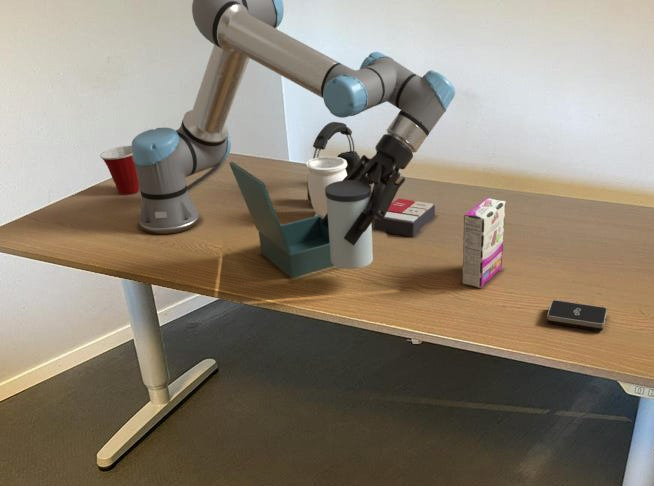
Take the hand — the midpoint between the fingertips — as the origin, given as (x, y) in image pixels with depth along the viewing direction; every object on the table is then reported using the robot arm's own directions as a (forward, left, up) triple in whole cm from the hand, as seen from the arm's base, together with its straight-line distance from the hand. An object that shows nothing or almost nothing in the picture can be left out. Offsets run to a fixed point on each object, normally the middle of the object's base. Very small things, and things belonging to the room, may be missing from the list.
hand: (337, 234), depth 150 cm
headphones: (-58, +4, -13) cm, 60 cm away
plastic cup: (-72, -56, -13) cm, 93 cm away
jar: (-41, +1, -13) cm, 44 cm away
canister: (-1, +3, -7) cm, 8 cm away
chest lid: (-13, -15, +2) cm, 20 cm away
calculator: (-34, +20, -13) cm, 42 cm away
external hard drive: (+21, +46, -13) cm, 52 cm away
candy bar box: (-1, +32, -13) cm, 35 cm away
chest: (-17, -6, -13) cm, 23 cm away
